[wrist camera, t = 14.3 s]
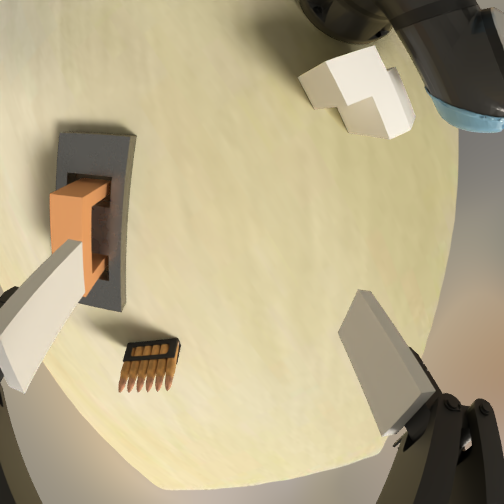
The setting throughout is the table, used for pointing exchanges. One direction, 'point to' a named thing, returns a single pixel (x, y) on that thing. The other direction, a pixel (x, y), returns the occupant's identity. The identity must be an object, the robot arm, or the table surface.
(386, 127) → the corner bracket
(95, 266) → the clip
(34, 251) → the table surface
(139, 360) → the ammunition clip
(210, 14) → the table surface
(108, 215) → the gray slotted base board
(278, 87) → the table surface
